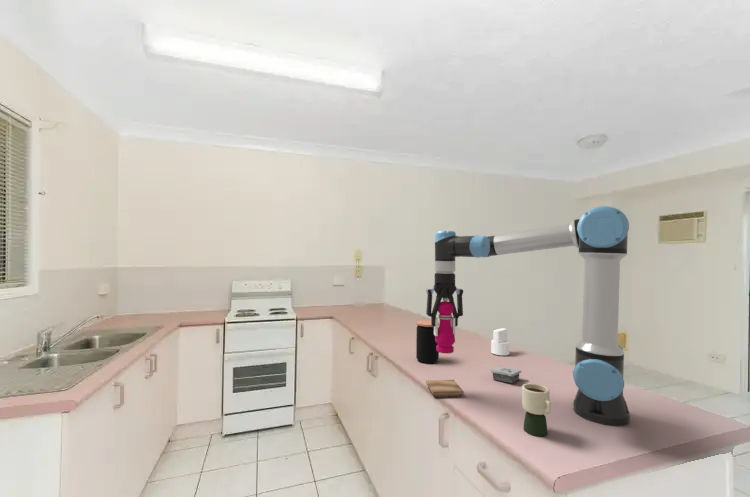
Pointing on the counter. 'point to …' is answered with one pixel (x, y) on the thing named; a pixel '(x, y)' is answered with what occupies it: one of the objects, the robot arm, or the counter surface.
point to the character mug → (535, 408)
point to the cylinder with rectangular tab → (500, 342)
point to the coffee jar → (426, 343)
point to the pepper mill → (445, 328)
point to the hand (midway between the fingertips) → (444, 335)
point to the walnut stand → (444, 388)
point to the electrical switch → (506, 374)
